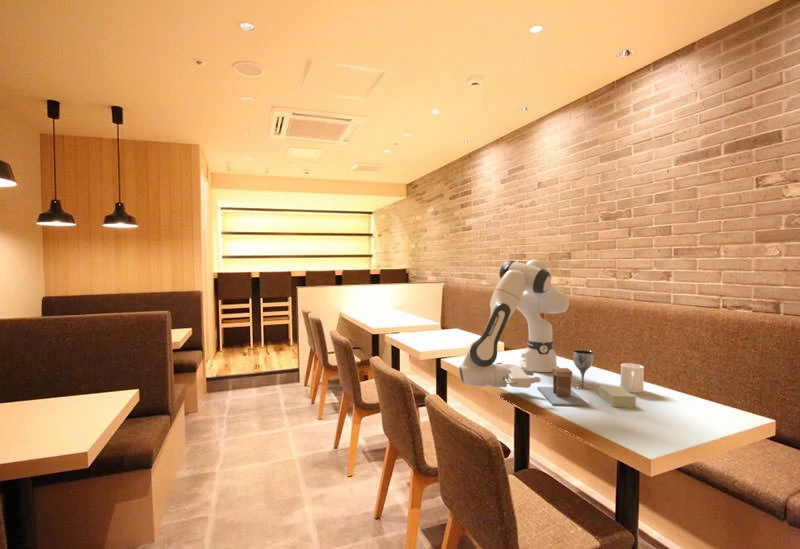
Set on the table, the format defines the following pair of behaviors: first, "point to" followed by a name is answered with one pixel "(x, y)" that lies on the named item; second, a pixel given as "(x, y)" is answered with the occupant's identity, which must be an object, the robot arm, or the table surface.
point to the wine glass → (582, 364)
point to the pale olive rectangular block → (617, 396)
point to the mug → (632, 377)
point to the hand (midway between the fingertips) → (536, 376)
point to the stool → (562, 382)
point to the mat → (562, 398)
